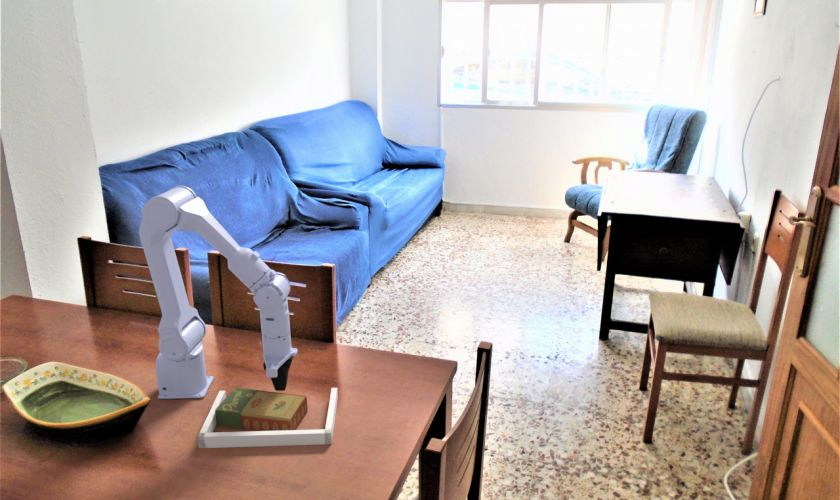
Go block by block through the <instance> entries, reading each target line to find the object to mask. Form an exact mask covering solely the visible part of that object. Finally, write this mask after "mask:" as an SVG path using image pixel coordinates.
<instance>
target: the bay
mask: <svg viewBox="0 0 840 500" xmlns="http://www.w3.org/2000/svg"><path fill="white" fill-rule="evenodd" d="M226 397H227V393H226V390H219V392H218V393H217V395H216V397H215V399H214V402H213V404H212V406H211V407H210V410H209V412H208V415H207V417H206V419H205V420H204V422H203V425H202V426H201V429H200V431H199V433H198V435H197V442H198V449H213V448H214V449H215V448H216V449H218V448H220V449H221V448H222V449H223V448H224V449H225V448H246V447H247V448H248V447H249V448H251V447H253V448H255V447H284V446H285V447H286V446H314V445H315V446H316V445H317V446H318V445H320V446H321V445H333V444H332V443H333V437H334V429H335V423H336V422H335V421H336V413H337V407H338V406H337V405H338V400H339V396H338V387H331V389H330V398H329V403H328V407H327V408H328V410H327V414H326V415H327V416H326V422H325V426H324V427H325V428H322V429H321V428H320V429H296V430H282V431H254V430H249V431H248V430H247V431H222V432H221V431H220V432H217V431H216V432H214V430H215V429H216V426H217V423H216V417H215V409H216V408H217V407H218V406H219V405H220V404H221V403H222V402H223V400H224V399H225V398H226Z"/></svg>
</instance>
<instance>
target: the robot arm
mask: <svg viewBox="0 0 840 500" xmlns="http://www.w3.org/2000/svg"><path fill="white" fill-rule="evenodd" d="M140 213H141V216H142V218H141V220H140V226H139V230H138V233H139V234H138V235H139V238H140V242H141V245H142V249H143V252H144V256H145V259H146V262H147V266H148V270H149V274H150V276H151V280H152V283H153V286H154V287H153V288H154V290H155V291H154V292H155V293H156V298H157V301H158V303H159V304H158V305H159V307H160V311H161V319H160V322H159V325H158V326H157V327H158V329H157V332H158V335H159V339H158V343H157V344H158V345H157V346H158V347H157V348H158V350H159V353H158V355H157V357H156V358H155V359H156V360H155V377H156V381H157V387H158V388H157V389H158V396H157V397H158V398H157V399H159V400H163V399H164V400H171V399H202V398H205V396H206V394H207V393H208V390H209V389H210V386H211V384H212V383H213V380H214V376H213V375H207V369H206V360H205V354H204V347H203V346H204V345H203V339H204V338H205V336H206V334H207V325H206V324H205V322H204V320H203V319H202V318H201V316H200V315H199V312H198V309H197V308H195V307H193V306H191V305H190V302H189V299H188V298H189V297H188V295H187V292H186V291H187V290H186V287H185V284H184V280H183V275H182V272H181V268H180V265H179V262H178V257H177V255H176V251H175V247H174V243H173V240H172V239H173V238H172V235H173V233H175V231H177V232H193V233H197V235H199V236H200V237H201V238H202V239H203V240H205V241H206V242H207V243H208V244H209V245H210V246H211V247H212V248H214V249H215V250H216V251H218V253H220V254H221V255H222V256H223V257H224V258H226V259H227V268H228V270H229V271H230V272H231V273H232V274H233V275H234V276H235V277H236V278H237V279H238V280H239V281H240V282H241V283H243V284H244V286H246V287H247V289H249V290H250V292H252V293H253V294H254V296H252V299H253V302H254V303H255V305H256V306H257V308H258V309H259V315H260V316H259V318H260V328H261V340H262V342H261V343H262V349H263V351H262V357H263V365H262V367H263V370H264V371H265V372H266V373H265V375H266V378H270V380H271V383H272V386H273V387H274V390H275V392H280V391H281V392H285V391H286V389H287V385H288V380H289V378H288V377H289V373H290V372H289V371H290V368H291V365H292V363H293V359H294V357H295V356H297V355H298V348H296V347H294V348H293V346H292V339H291V325H290V324H291V323H290V310H289V302H288V301H289V300H288V299H289V298H287V297H288V295H289V294H290V292H291V288H292V287H291V282H290V280H289V279H288V278H287V275H286V274H284V273H282V272H279V271H275V269H272V268H270V267H269V265H267V264H266V263H265V262H264V260H262V259H261V258H260V257H261V255H260V254H259V253H258V251H256V250H255V251H253V250H252V249H251V248H249V247H242V246H241V245H239V244H238V242H237V241H236V240H235V239H234V238H233V237H232V236H231V235H230V234H229V232H228V231H227V229H225V228H224V227H223V226H222V225H221V224H220V222H218V220H217V219H216V218H215V217H214V216H213V214H212V213H211V212H210V210H208V208H207V206H206V203H205V201H204V200H203V199H202V198H201V197H200V196H197V193H195V191H194V190H193V189H192V188H190V187H188V186H186V185H177V186H174V187H172V188H171V189H169V190H168V191H165V192H163V193H161V194H159V195H156V196H153V197H150V199H149V200H148V201H147V202H146V203H145V204H144V205H143V206H142V207H141V209H140Z"/></svg>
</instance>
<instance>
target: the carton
mask: <svg viewBox="0 0 840 500" xmlns="http://www.w3.org/2000/svg"><path fill="white" fill-rule="evenodd" d="M308 407H309V406H308V398H307V395H304V394H303V395H302V394H296V393H295V394H293V393H285V392H278V391H269V390H268V391H267V390H259V389H252V388H245V387H244V388H242V387H236V386H235V387H234V388H233V389H232V390H231V391H230V392H229V393H228V394H227V395H226V398H225V399H224V400H223V402H222V403H221V404H220V405H219V406H218V407H217V408H216V409H215V417H216V423H217V424H216V426H219V427H225V428H235V429H241V430H246V431H248V430H249V431H282V430H298V429H297V428H298V427H299V425H300V424H301V423H302V421H303V419H304V418H305V417H306V416H307V413H308V412H309V411H308V409H309V408H308Z"/></svg>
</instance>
